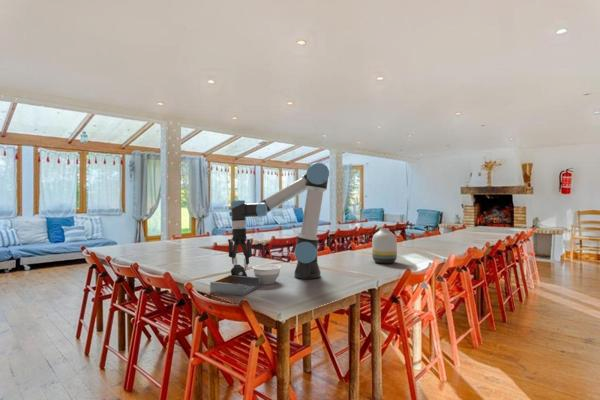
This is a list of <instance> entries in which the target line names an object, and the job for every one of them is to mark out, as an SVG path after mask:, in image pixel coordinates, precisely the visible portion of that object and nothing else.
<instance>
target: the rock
mask: <svg viewBox="0 0 600 400" xmlns="http://www.w3.org/2000/svg"><path fill="white" fill-rule="evenodd" d="M230 275H236V276H248V274H247V271H245V269H244V266H242V265H241V264H237V265H235V266H234V265H233V267H232V268H231V269H230Z"/></svg>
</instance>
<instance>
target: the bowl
mask: <svg viewBox="0 0 600 400" xmlns="http://www.w3.org/2000/svg"><path fill="white" fill-rule="evenodd" d="M251 268H252V269H253V273H254V277H260V285H269V284H270V285H271V284H274V283H276V281H277V279H278V277H279V275H280V272H281V270H280V269H282V265H280V264H276V263H275V264H272V263H264V264H256V265H253V266H252V267H251Z"/></svg>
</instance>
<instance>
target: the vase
mask: <svg viewBox="0 0 600 400" xmlns="http://www.w3.org/2000/svg"><path fill="white" fill-rule="evenodd" d="M397 239H398V238H397V237H396V235H395V234H394V233H393V232H391V231H390V228H388V227H387V228H385V227H384V228H383V227H382V228H379V230H378V231H377V232H375V233H374V234H373V236H372V240H371V241H372V242H371V249H372V251H371V253H372V254H371V255H372V259H373V261H374V262H375V263H377V264H386V265H387V264H393V263H395V262H396V261H397V256H398V255H397V254H398V240H397Z"/></svg>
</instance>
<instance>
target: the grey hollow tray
mask: <svg viewBox="0 0 600 400" xmlns="http://www.w3.org/2000/svg"><path fill="white" fill-rule="evenodd" d="M209 286H210V287H209V290H210V291H209V292H210V293H213V294H215V293H217V294H221V295H222V294H223V295H230V296H231V295H232V296H241V297H244V296H246V295H248V294H249V293H252V292H254V291H256V290H257V289H259V288H261V283H260V277H255V276H248V275H247V276H236V275H231V274H227V275H225V276H222V277H219V278H218V279H215V280H213V281H210V282H209Z"/></svg>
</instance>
